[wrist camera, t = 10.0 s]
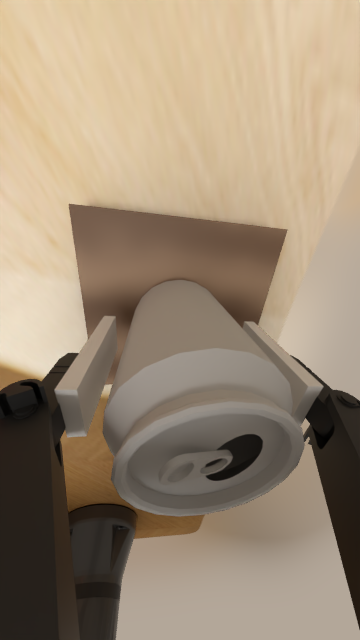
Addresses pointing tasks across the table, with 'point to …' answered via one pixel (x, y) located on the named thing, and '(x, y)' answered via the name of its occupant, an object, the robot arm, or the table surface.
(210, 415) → the can
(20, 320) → the table surface
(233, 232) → the walnut plinth
